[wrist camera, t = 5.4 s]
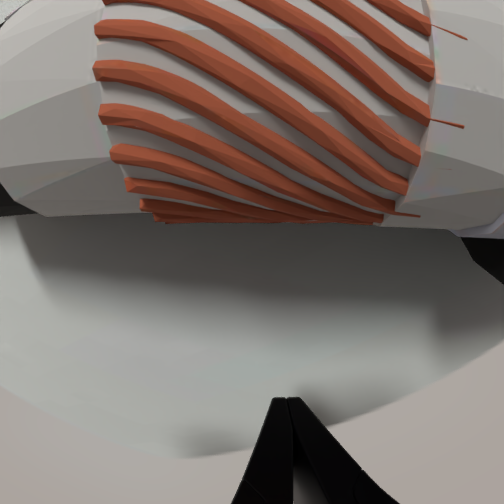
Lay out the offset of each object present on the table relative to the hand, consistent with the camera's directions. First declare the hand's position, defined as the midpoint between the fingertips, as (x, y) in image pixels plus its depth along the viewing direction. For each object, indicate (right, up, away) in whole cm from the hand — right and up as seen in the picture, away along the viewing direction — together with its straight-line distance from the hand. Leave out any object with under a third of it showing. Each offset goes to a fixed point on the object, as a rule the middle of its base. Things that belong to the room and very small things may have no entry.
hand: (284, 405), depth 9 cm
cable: (-1, +10, +2) cm, 10 cm away
